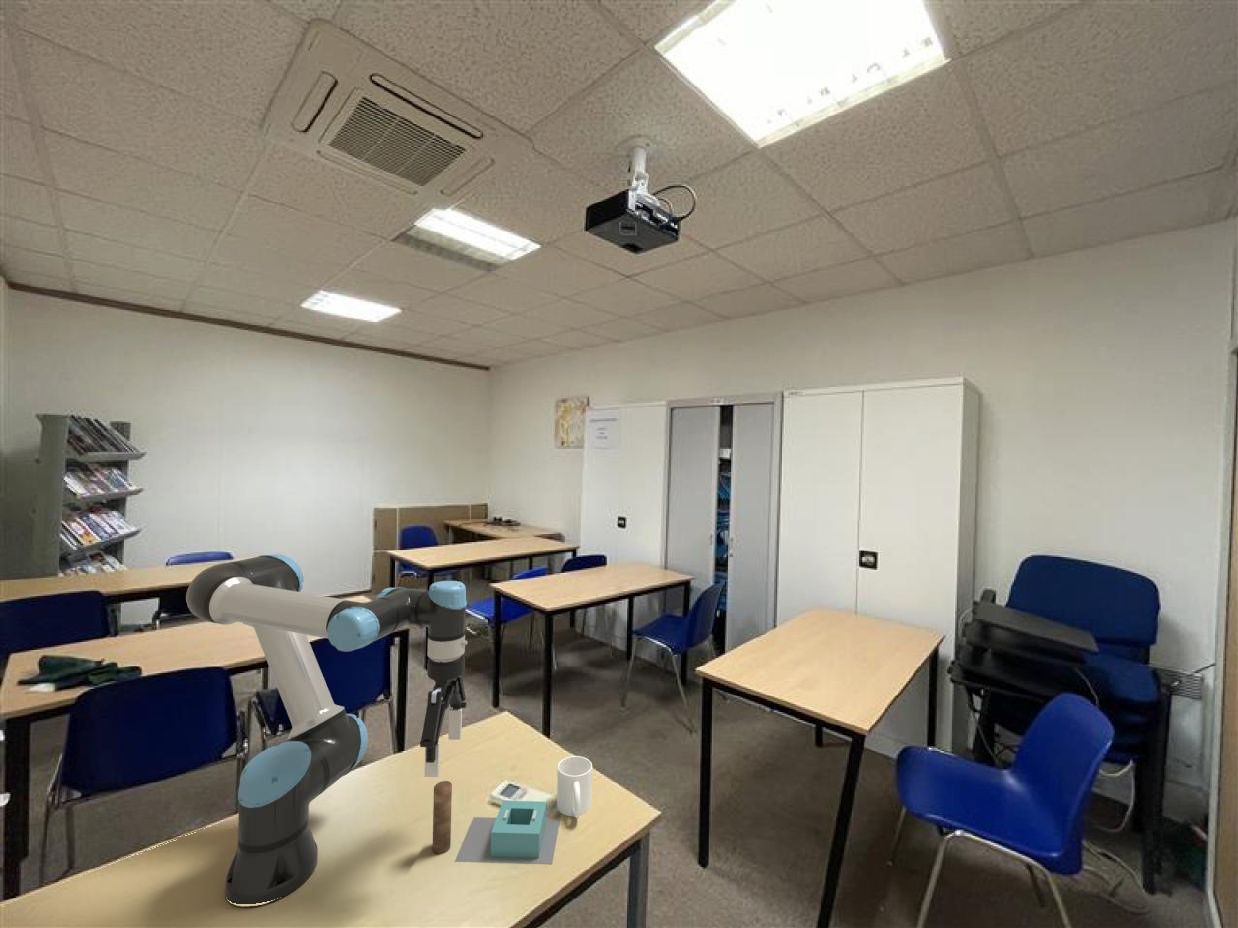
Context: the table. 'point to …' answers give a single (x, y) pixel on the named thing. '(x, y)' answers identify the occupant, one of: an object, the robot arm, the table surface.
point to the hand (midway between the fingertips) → (444, 756)
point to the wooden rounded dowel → (442, 817)
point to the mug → (574, 786)
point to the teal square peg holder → (519, 829)
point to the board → (479, 844)
